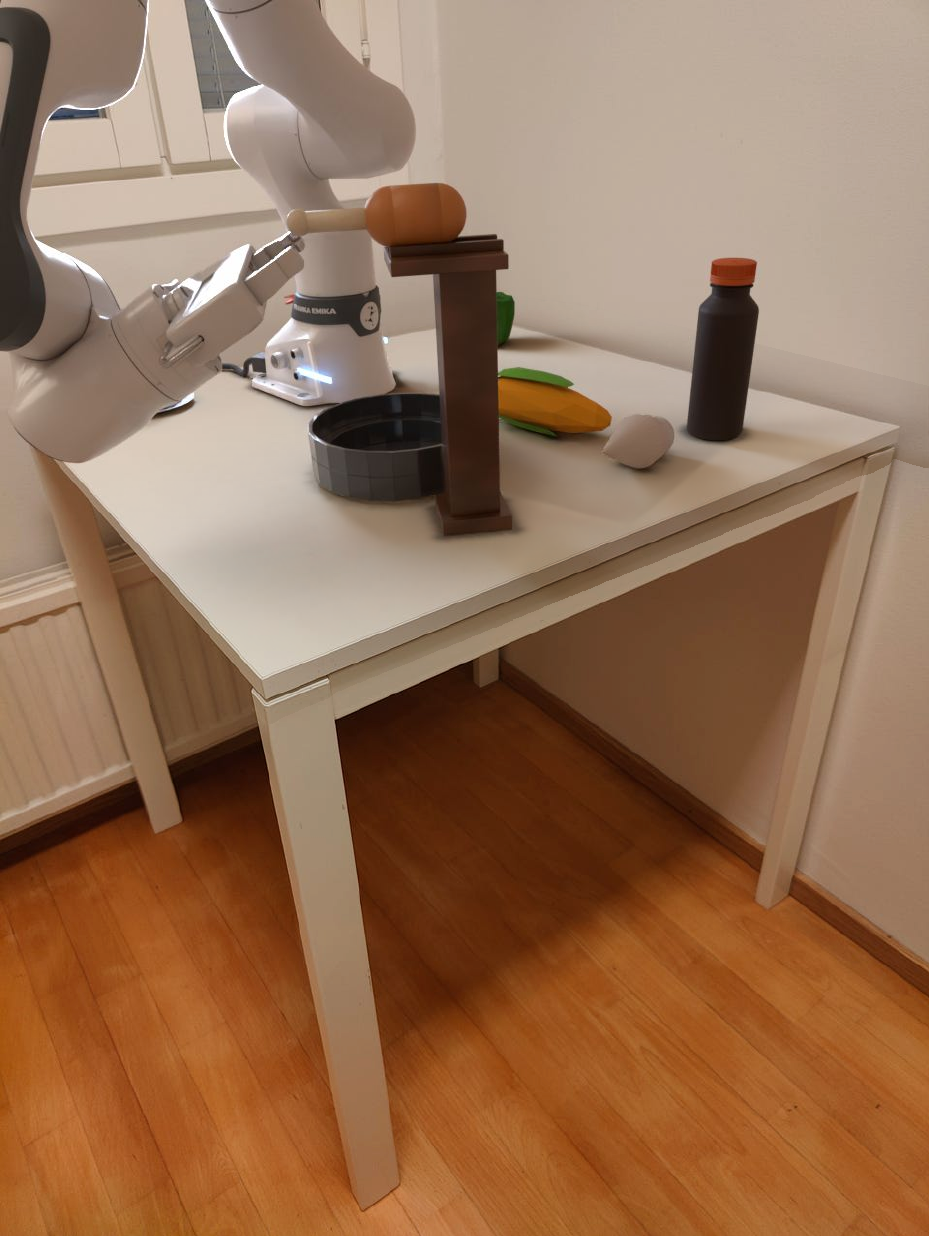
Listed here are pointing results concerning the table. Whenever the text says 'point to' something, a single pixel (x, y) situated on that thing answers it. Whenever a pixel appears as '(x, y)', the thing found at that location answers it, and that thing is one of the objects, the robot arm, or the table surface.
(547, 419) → the corn
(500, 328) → the bell pepper
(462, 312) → the stand
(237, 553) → the table surface
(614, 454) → the ice cream cone
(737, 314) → the bottle
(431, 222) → the drumstick
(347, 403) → the bowl
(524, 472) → the table surface
